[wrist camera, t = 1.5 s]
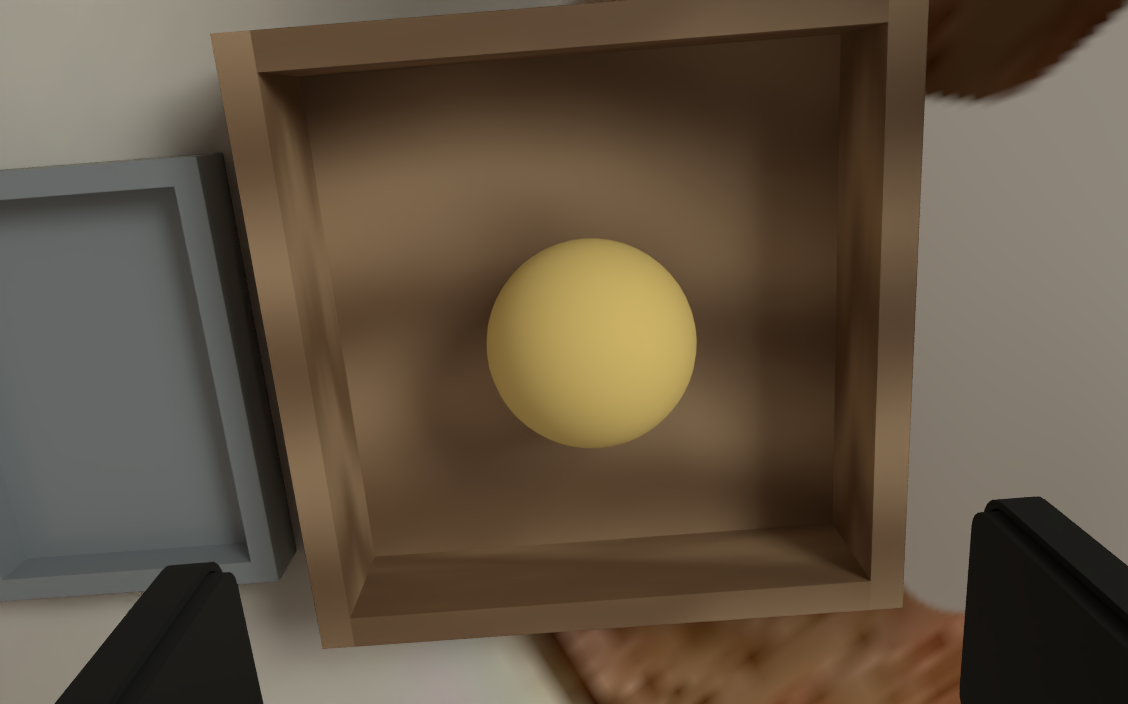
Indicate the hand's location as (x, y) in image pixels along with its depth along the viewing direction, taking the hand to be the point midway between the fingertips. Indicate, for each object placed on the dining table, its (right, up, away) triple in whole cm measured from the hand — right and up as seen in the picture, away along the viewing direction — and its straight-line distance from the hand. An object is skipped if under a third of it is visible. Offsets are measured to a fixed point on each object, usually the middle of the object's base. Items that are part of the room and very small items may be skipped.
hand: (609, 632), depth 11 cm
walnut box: (0, +5, +17) cm, 18 cm away
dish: (-16, +3, +18) cm, 24 cm away
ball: (0, +5, +16) cm, 17 cm away
